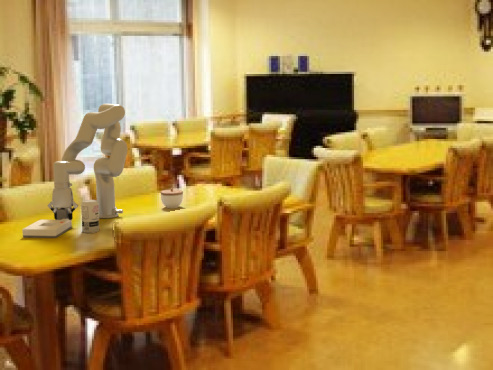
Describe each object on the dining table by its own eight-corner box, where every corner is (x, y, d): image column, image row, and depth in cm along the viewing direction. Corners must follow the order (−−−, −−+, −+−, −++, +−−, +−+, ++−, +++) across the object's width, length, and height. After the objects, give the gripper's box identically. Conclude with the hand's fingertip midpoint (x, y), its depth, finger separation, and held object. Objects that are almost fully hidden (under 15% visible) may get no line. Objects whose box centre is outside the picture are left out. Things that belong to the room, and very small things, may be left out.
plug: (70, 223, 370) (69, 203, 369) (66, 225, 365) (65, 205, 364) (60, 223, 371) (59, 203, 369) (57, 225, 366) (56, 205, 364)
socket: (71, 227, 360) (71, 218, 359) (55, 238, 338) (55, 228, 337) (40, 227, 361) (40, 217, 360) (22, 237, 340) (22, 227, 339)
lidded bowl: (182, 209, 405) (181, 189, 403) (159, 209, 405) (159, 189, 404) (184, 205, 418) (183, 186, 416) (162, 205, 418) (162, 186, 416)
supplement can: (83, 229, 355) (82, 199, 353) (100, 229, 356) (99, 199, 353) (81, 233, 347) (79, 202, 345) (98, 233, 348) (97, 202, 345)
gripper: (81, 184, 368) (82, 219, 371) (48, 184, 370) (49, 218, 372) (76, 186, 360) (77, 222, 363) (42, 186, 362) (44, 221, 365)
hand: (63, 220), depth 368 cm, fingers open, 6 cm apart
